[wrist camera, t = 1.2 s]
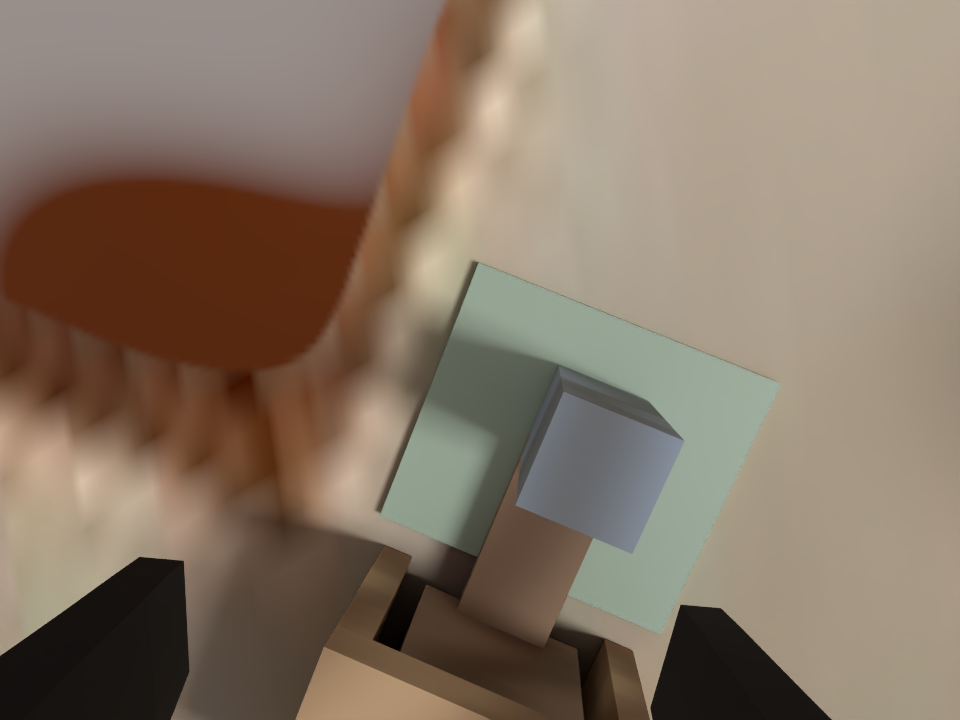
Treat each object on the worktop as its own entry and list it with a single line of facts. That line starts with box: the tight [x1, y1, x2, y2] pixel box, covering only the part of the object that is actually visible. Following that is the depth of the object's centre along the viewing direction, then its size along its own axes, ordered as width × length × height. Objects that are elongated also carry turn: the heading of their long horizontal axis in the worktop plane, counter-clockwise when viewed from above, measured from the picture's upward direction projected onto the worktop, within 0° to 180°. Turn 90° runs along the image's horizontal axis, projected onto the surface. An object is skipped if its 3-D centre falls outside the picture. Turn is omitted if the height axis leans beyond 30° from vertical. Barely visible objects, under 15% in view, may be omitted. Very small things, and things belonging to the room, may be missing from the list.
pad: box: [380, 263, 781, 634], centre depth 20 cm, size 10×9×1 cm
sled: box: [399, 364, 684, 720], centre depth 18 cm, size 5×16×5 cm, turn 158°
